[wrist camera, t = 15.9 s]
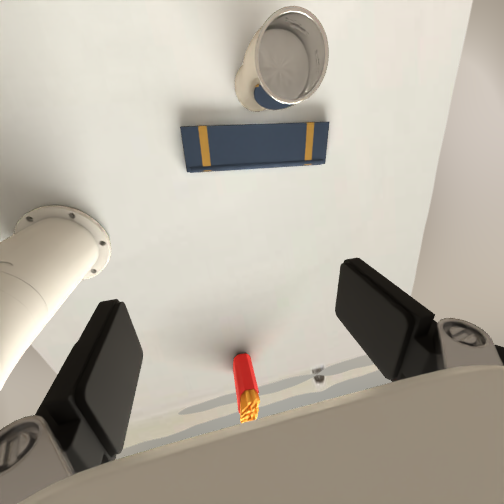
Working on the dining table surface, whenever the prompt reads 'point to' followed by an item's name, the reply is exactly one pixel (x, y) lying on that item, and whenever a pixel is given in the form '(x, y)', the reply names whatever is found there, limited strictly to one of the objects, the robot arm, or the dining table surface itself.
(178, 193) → the dining table surface
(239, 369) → the french fries
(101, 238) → the robot arm
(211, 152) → the blue striped flat box
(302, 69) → the beer glass
